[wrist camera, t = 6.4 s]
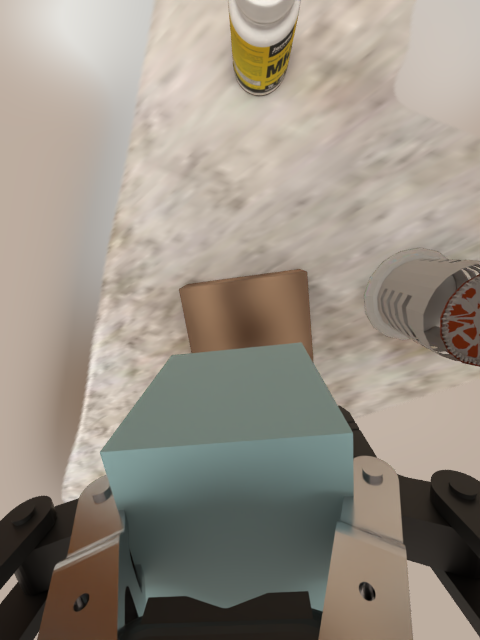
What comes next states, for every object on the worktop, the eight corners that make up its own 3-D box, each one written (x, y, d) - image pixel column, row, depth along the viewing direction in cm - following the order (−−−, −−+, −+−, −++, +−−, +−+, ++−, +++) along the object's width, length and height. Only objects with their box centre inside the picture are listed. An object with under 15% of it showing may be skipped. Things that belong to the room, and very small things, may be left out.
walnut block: (298, 268, 28) (306, 271, 24) (307, 371, 31) (315, 389, 27) (188, 283, 28) (178, 289, 24) (207, 382, 31) (201, 400, 28)
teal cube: (301, 342, 12) (352, 432, 6) (308, 453, 13) (354, 611, 7) (171, 355, 12) (99, 452, 6) (192, 461, 14) (150, 618, 8)
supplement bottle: (268, 108, 24) (278, 34, 15) (223, 77, 23) (209, -17, 15) (298, 52, 22) (326, -62, 14) (251, 17, 22) (253, -120, 14)
